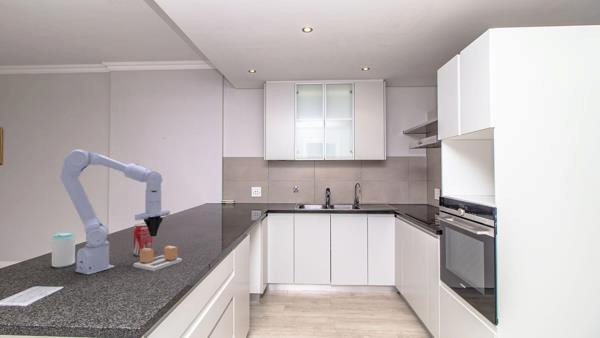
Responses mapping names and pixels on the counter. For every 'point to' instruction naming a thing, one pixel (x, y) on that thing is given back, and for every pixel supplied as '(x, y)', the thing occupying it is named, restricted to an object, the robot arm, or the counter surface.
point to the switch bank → (157, 263)
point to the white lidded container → (63, 250)
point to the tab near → (170, 252)
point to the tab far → (146, 255)
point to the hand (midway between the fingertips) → (153, 235)
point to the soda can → (141, 238)
